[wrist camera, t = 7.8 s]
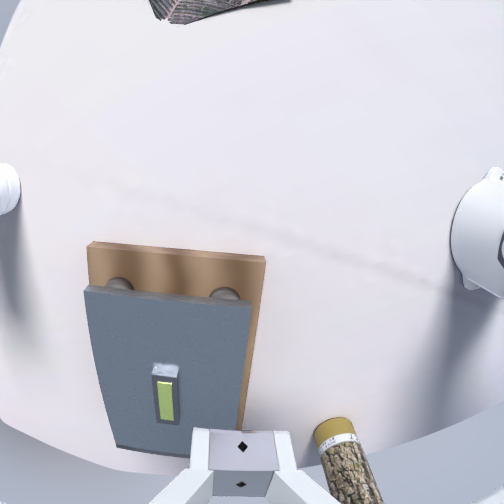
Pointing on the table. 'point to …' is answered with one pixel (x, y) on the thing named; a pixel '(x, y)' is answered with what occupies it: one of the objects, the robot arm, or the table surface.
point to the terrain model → (194, 8)
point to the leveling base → (183, 280)
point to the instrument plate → (167, 364)
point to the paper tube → (345, 463)
